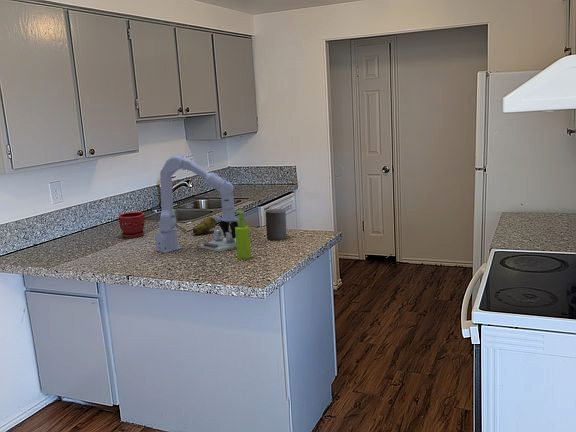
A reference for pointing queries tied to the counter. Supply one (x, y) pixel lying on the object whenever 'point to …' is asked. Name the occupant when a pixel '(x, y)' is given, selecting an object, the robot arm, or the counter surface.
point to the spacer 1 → (218, 235)
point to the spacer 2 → (229, 237)
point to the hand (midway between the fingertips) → (230, 237)
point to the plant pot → (132, 224)
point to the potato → (205, 226)
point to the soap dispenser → (242, 238)
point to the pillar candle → (276, 224)
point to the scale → (218, 245)
